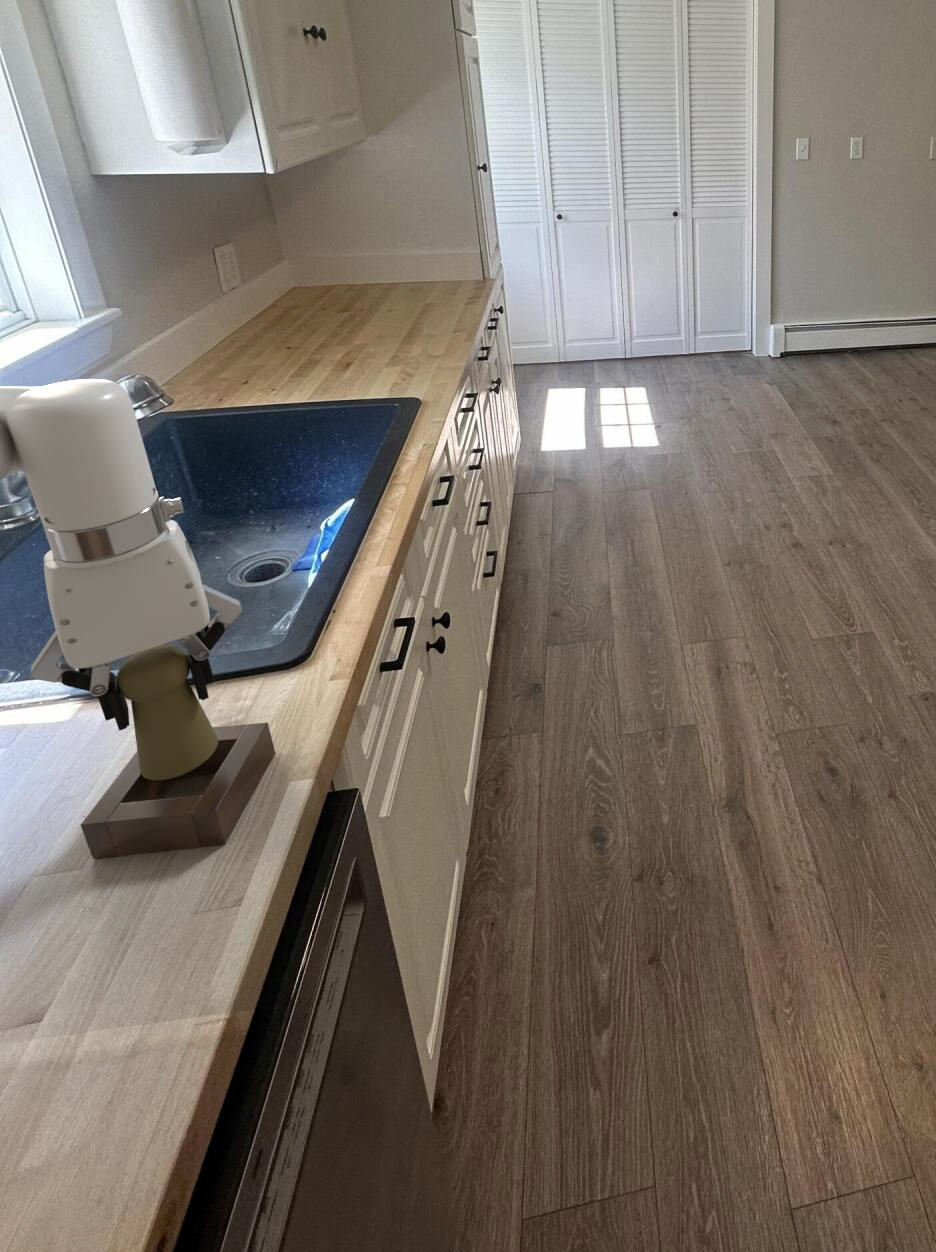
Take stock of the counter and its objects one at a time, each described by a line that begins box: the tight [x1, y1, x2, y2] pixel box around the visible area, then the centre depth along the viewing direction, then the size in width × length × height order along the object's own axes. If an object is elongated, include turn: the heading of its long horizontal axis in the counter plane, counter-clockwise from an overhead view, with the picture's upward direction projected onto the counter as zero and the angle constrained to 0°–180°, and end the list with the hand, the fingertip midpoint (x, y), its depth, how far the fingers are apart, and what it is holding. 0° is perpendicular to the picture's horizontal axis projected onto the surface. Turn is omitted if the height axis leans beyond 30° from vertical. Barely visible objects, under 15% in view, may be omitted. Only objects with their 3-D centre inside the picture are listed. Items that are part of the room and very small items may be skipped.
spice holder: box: [80, 722, 276, 860], centre depth 74 cm, size 11×11×4 cm
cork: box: [116, 644, 218, 780], centre depth 71 cm, size 6×6×11 cm
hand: (163, 703), depth 71 cm, fingers closed on cork, 5 cm apart
